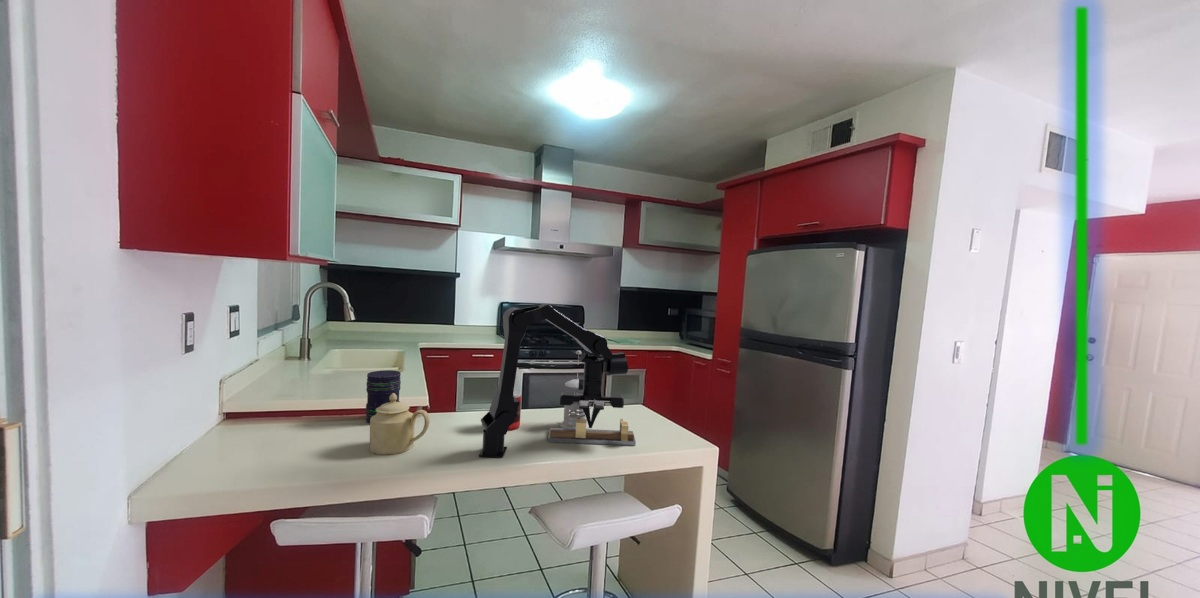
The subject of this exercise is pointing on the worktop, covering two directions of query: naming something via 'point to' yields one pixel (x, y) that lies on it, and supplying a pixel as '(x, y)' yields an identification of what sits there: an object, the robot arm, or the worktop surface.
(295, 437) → the worktop surface
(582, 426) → the slider
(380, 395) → the storage jar
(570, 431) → the beam
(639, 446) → the worktop surface
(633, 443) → the plate
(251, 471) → the worktop surface
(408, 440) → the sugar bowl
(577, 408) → the french press
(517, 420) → the canned food
